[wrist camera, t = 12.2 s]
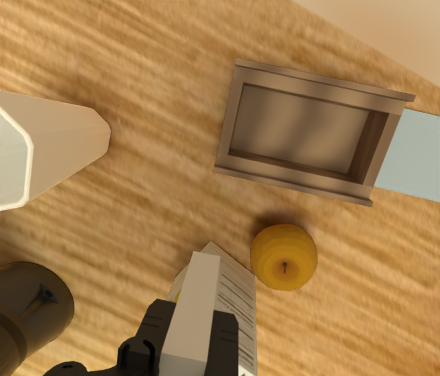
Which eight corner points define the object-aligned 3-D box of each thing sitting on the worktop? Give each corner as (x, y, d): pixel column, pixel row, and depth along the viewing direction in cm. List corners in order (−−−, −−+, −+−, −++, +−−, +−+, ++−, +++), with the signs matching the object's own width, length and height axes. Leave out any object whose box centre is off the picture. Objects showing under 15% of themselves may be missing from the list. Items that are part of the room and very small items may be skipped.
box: (219, 159, 38) (212, 171, 31) (238, 66, 35) (235, 57, 28) (348, 188, 38) (371, 207, 31) (382, 97, 34) (415, 95, 27)
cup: (35, 128, 40) (-113, 145, 23) (78, 76, 37) (-57, 53, 21) (94, 185, 41) (-7, 238, 25) (138, 139, 39) (58, 164, 22)
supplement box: (211, 238, 42) (187, 322, 26) (256, 275, 43) (261, 377, 27) (173, 278, 45) (131, 376, 29) (217, 311, 46) (200, 424, 30)
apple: (293, 201, 39) (305, 228, 31) (319, 249, 41) (337, 287, 32) (239, 226, 41) (237, 258, 32) (266, 271, 43) (270, 313, 34)
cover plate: (350, 178, 38) (354, 181, 36) (379, 103, 35) (384, 103, 33) (468, 206, 37) (476, 210, 36) (507, 133, 34) (518, 134, 33)
